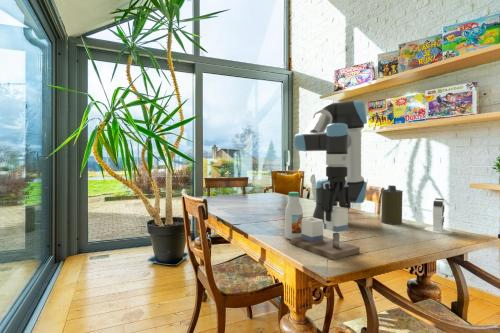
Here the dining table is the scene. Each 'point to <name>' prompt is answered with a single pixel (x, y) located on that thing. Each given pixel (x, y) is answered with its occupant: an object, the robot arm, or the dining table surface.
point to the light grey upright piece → (438, 218)
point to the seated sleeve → (312, 229)
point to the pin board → (327, 247)
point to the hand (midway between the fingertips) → (336, 228)
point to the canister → (391, 206)
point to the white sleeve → (339, 219)
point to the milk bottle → (293, 217)
